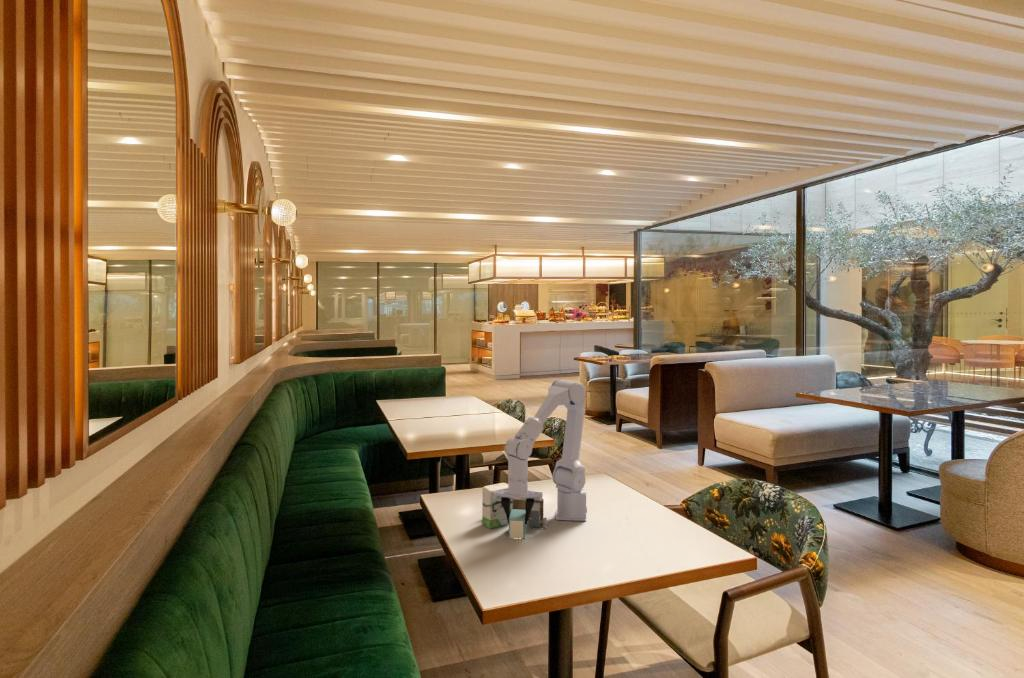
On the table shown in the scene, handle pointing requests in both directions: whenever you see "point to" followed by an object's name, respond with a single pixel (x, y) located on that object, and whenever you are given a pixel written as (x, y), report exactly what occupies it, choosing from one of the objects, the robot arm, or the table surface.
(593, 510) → the table surface
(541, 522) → the bookend
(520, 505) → the back board
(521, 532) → the book
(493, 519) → the ink box
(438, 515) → the table surface
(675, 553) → the table surface
